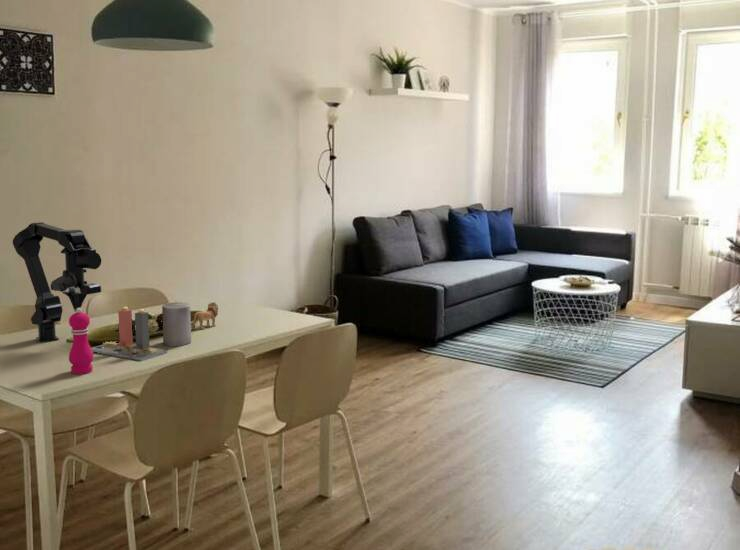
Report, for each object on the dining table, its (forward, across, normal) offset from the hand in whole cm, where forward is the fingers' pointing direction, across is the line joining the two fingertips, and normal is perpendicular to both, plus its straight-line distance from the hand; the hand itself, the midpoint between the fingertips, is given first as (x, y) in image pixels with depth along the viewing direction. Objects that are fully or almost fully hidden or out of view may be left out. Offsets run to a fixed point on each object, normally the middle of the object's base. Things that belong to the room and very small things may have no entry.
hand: (77, 311), depth 279 cm
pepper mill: (+12, +27, -23) cm, 37 cm away
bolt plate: (+12, +21, +2) cm, 25 cm away
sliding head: (+11, +20, +1) cm, 23 cm away
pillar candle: (+12, +27, +20) cm, 36 cm away
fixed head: (+11, +28, +1) cm, 30 cm away
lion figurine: (+12, +19, +44) cm, 50 cm away
